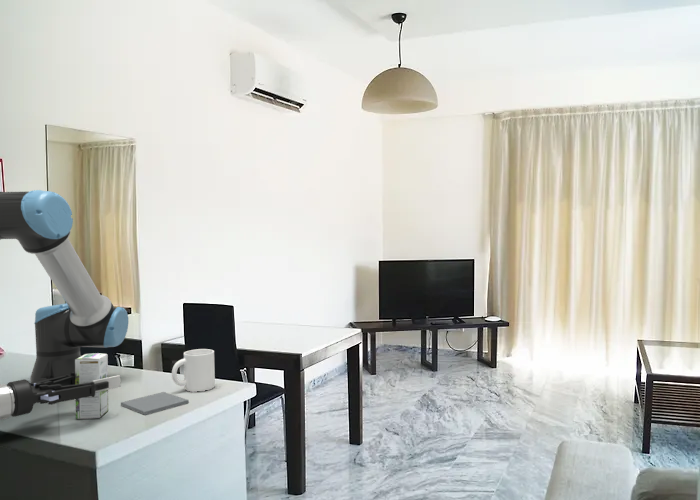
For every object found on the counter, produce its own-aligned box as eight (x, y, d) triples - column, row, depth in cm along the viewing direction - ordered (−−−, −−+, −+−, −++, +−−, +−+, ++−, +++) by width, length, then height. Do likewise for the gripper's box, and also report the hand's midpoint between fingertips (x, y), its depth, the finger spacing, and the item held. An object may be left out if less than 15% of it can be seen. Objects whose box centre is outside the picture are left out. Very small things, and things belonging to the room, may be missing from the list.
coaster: (120, 405, 142) (120, 402, 142) (163, 394, 151) (163, 391, 151) (145, 415, 134) (144, 411, 134) (188, 403, 143) (188, 399, 143)
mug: (177, 396, 149) (176, 358, 149) (167, 390, 156) (166, 353, 155) (219, 388, 156) (218, 352, 156) (208, 382, 163) (207, 347, 163)
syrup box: (84, 412, 137) (82, 353, 137) (109, 411, 138) (107, 352, 138) (75, 419, 132) (73, 358, 131) (101, 418, 132) (99, 357, 132)
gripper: (25, 391, 114) (131, 369, 131) (-8, 375, 128) (92, 357, 145) (26, 427, 114) (132, 400, 132) (-7, 407, 128) (93, 386, 145)
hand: (111, 378), depth 138 cm, fingers closed on syrup box, 8 cm apart
